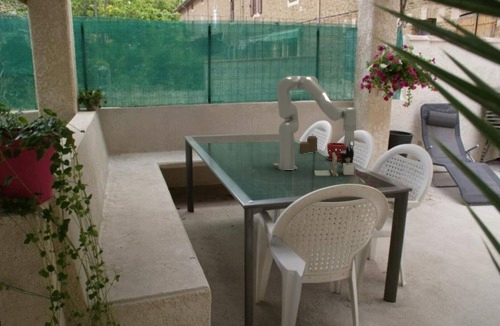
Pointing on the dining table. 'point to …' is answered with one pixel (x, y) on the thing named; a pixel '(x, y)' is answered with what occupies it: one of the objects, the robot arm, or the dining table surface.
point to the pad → (322, 173)
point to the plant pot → (332, 148)
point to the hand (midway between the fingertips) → (349, 155)
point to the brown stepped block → (309, 145)
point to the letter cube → (348, 168)
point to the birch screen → (334, 165)
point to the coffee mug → (345, 158)
